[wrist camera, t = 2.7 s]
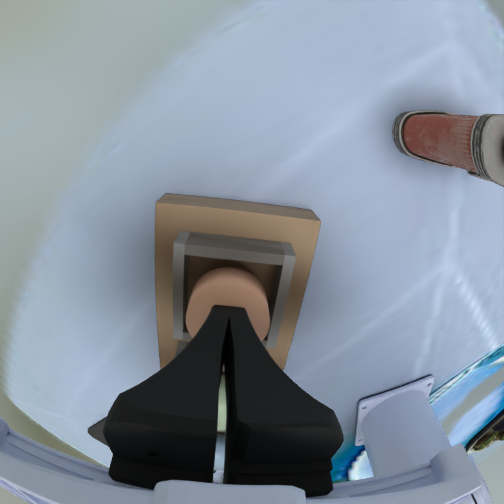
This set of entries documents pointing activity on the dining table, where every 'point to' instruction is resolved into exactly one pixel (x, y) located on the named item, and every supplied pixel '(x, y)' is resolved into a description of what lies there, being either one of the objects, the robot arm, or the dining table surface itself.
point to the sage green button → (222, 405)
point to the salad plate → (488, 434)
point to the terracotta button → (228, 298)
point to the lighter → (454, 141)
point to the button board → (230, 261)
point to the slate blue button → (219, 452)
